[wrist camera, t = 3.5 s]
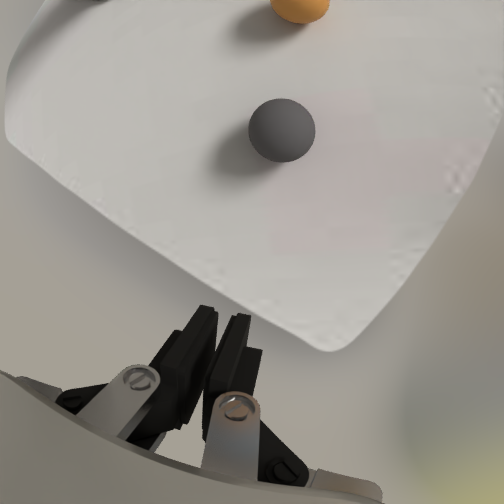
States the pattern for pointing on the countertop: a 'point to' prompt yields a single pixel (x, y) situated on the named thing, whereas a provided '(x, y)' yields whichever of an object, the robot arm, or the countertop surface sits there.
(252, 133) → the dark gray ball
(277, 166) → the countertop surface
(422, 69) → the countertop surface
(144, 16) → the countertop surface
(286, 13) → the object ball
